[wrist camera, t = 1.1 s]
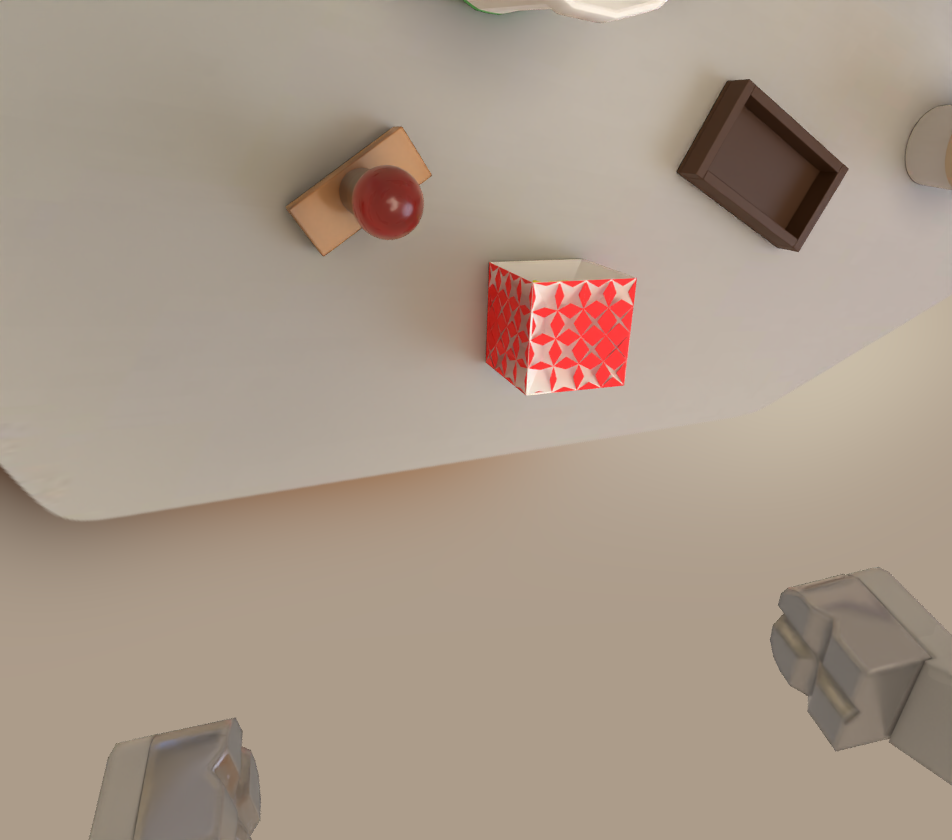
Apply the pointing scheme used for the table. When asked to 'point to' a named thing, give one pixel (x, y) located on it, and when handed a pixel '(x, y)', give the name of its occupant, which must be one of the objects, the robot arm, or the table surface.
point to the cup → (572, 7)
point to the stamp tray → (762, 166)
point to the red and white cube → (559, 324)
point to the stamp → (366, 195)
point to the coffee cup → (931, 149)
